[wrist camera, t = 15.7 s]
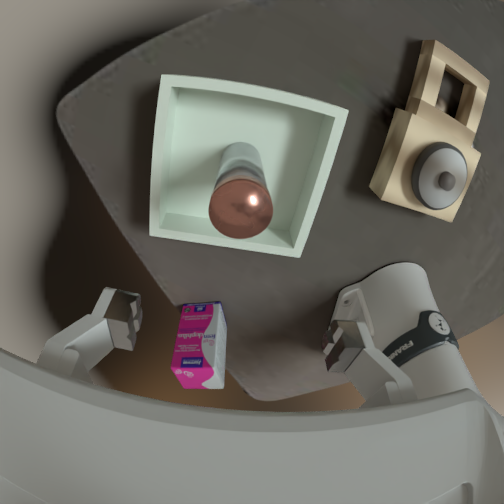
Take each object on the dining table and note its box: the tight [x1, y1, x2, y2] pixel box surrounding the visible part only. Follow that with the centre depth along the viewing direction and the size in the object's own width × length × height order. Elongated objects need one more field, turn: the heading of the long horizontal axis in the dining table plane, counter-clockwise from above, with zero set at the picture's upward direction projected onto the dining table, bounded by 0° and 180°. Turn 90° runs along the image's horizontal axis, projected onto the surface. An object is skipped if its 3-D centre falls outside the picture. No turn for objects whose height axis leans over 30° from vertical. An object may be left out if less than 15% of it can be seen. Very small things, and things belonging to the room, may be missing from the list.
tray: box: [150, 74, 349, 258], centre depth 26 cm, size 16×16×4 cm
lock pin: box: [208, 142, 273, 239], centre depth 23 cm, size 4×4×11 cm
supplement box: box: [171, 302, 227, 389], centre depth 37 cm, size 6×6×12 cm
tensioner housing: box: [369, 40, 490, 222], centre depth 23 cm, size 20×12×6 cm, turn 168°
